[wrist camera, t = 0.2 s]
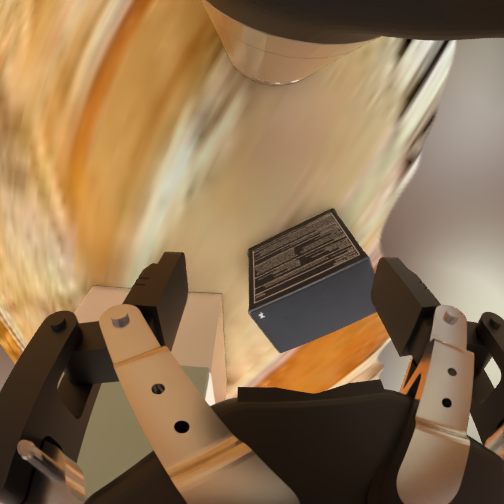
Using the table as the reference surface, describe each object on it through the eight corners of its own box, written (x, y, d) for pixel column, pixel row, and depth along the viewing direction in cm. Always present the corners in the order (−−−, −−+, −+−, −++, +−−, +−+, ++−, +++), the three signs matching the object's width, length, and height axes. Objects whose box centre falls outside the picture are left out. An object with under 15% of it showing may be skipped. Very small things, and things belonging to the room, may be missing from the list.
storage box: (93, 285, 34) (51, 347, 23) (222, 293, 34) (210, 372, 23) (125, 368, 42) (105, 425, 32) (226, 379, 42) (221, 444, 32)
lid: (46, 348, 22) (43, 340, 22) (209, 375, 22) (208, 367, 22) (-41, 465, 5) (-48, 458, 5) (178, 579, 5) (174, 579, 5)
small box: (273, 291, 34) (279, 358, 24) (245, 249, 31) (242, 312, 22) (353, 253, 31) (387, 311, 22) (333, 205, 28) (369, 254, 19)
